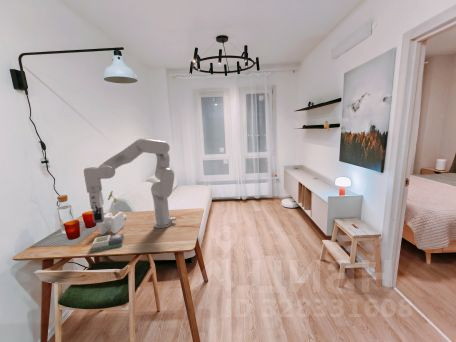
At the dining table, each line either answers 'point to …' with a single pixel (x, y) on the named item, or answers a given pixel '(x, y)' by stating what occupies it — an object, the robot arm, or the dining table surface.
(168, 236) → the dining table surface
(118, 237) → the header board
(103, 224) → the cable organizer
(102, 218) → the plug
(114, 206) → the flower in vase
